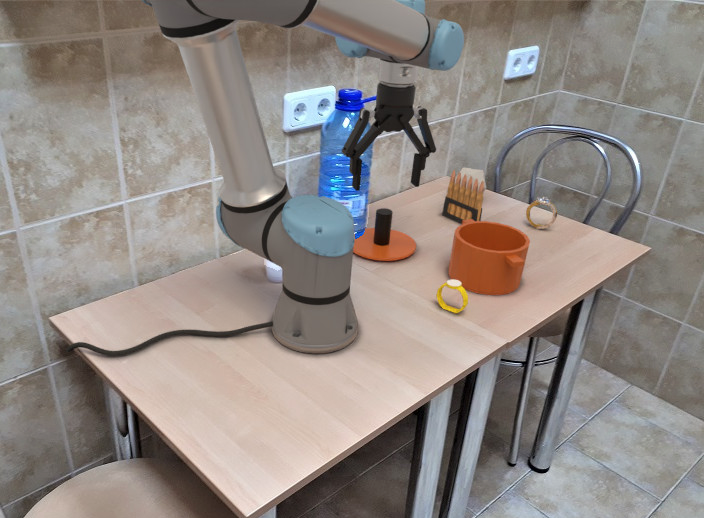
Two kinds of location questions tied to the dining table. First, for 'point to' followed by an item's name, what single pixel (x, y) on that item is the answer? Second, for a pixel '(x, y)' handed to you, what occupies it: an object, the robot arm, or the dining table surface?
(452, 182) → the ammunition clip
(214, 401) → the dining table surface
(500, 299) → the dining table surface
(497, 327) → the dining table surface
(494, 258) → the pot
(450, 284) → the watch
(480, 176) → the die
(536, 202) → the ring
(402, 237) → the lid
